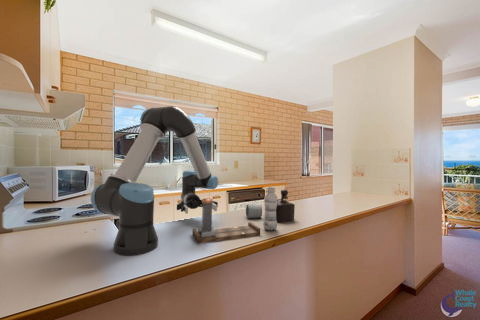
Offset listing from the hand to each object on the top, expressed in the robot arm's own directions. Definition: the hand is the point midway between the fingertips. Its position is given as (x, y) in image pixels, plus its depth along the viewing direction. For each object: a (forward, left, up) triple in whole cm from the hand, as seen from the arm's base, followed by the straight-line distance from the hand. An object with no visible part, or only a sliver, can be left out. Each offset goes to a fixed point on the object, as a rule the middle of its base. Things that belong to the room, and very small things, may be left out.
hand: (201, 209), depth 105 cm
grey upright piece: (0, -9, -8) cm, 12 cm away
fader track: (+9, -9, -10) cm, 16 cm away
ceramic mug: (+33, +14, -10) cm, 37 cm away
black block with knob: (+46, +2, -10) cm, 47 cm away
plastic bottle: (+31, -9, -10) cm, 34 cm away
